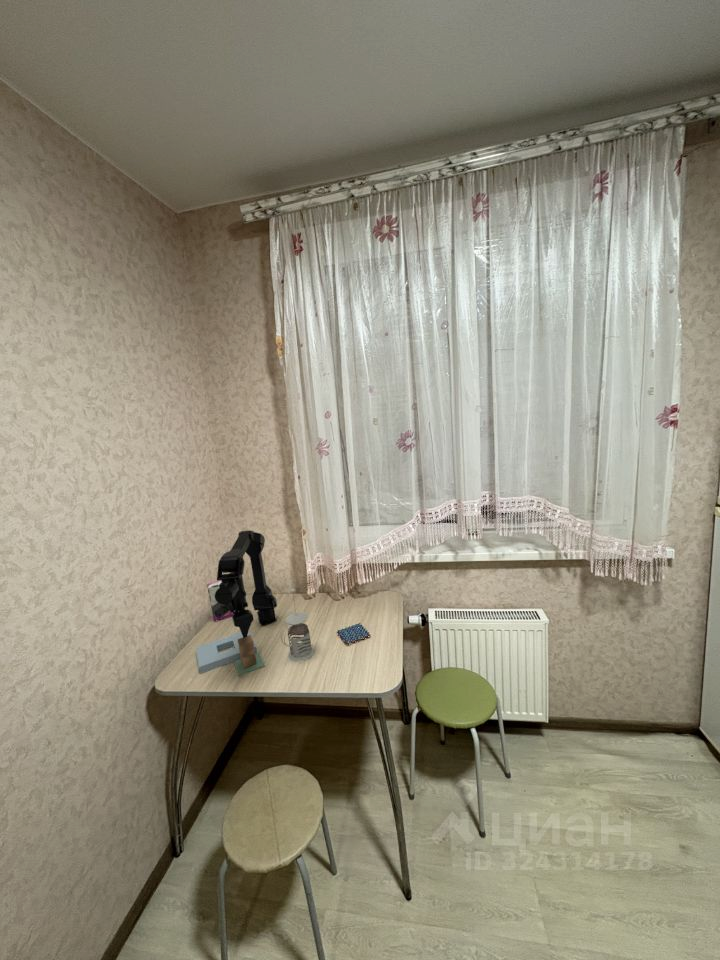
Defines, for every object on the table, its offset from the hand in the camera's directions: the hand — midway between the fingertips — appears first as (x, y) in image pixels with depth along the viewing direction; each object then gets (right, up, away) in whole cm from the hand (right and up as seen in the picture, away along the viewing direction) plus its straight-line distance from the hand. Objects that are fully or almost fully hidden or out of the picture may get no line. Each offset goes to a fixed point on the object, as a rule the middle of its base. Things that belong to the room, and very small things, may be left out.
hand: (242, 631), depth 134 cm
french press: (+19, -10, +4) cm, 22 cm away
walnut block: (+2, -12, +1) cm, 12 cm away
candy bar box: (-19, -8, +37) cm, 43 cm away
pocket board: (-9, -12, +9) cm, 17 cm away
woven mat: (+39, -7, +13) cm, 42 cm away
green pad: (+2, -12, +1) cm, 12 cm away
